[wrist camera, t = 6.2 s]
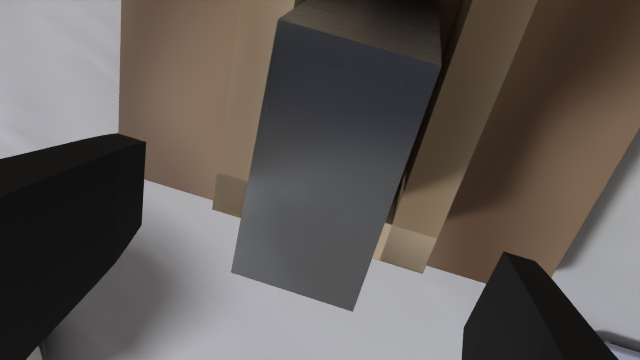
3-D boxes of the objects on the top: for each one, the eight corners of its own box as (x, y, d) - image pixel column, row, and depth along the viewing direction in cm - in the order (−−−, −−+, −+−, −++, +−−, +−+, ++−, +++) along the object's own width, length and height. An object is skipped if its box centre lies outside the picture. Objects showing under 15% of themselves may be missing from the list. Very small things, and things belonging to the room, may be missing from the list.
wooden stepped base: (738, -90, 14) (850, -92, 11) (531, 276, 21) (553, 356, 17) (152, -234, 16) (58, -284, 12) (136, 156, 23) (73, 207, 19)
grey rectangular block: (438, -1, 16) (441, 66, 9) (383, 164, 19) (352, 311, 12) (346, -27, 16) (277, 18, 9) (306, 141, 19) (231, 272, 12)
